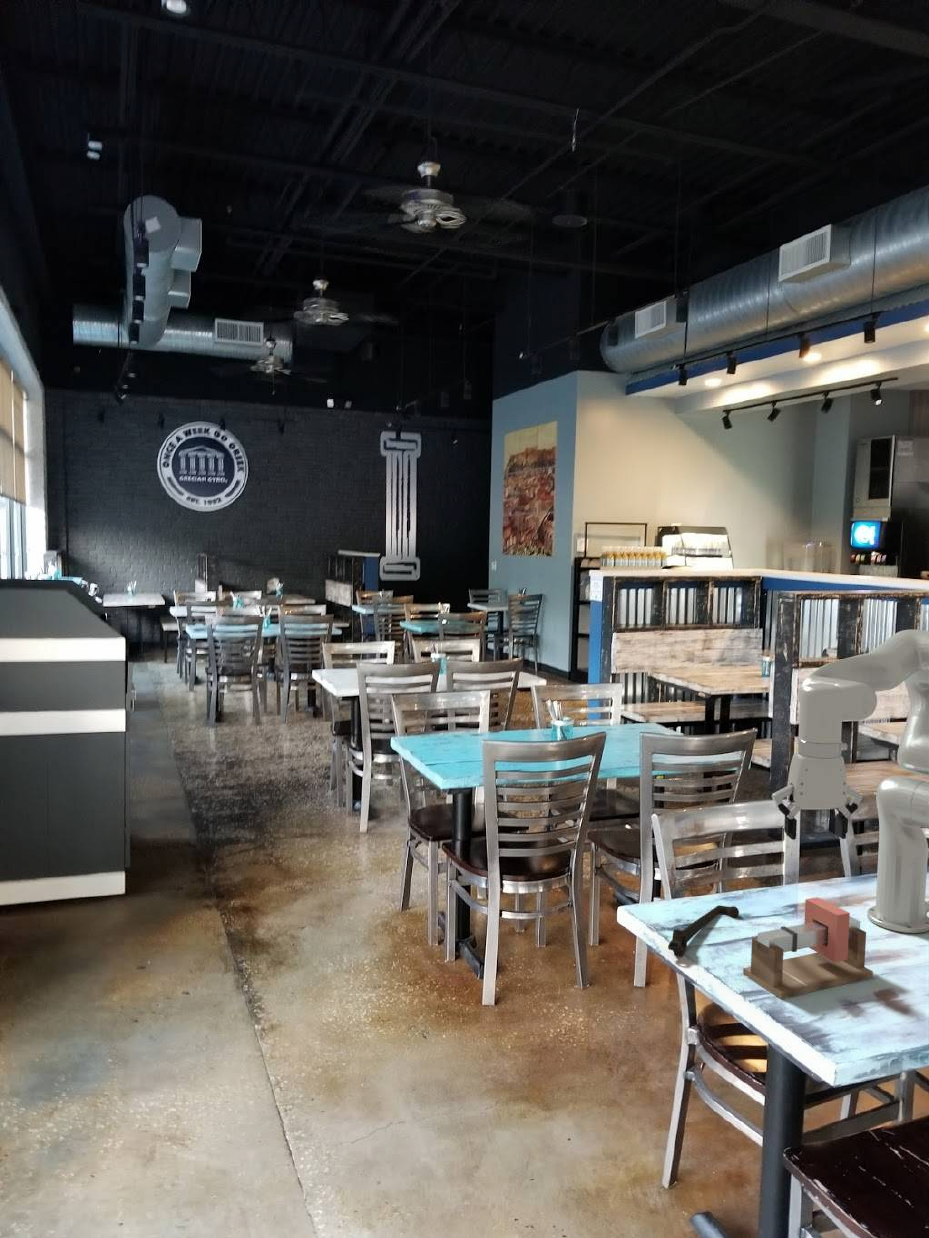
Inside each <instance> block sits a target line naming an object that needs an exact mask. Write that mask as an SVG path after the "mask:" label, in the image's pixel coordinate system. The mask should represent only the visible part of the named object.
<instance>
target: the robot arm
mask: <svg viewBox="0 0 929 1238" xmlns="http://www.w3.org/2000/svg"><path fill="white" fill-rule="evenodd" d="M903 682H904V684H905V686H906V691H907V694H908V698H909V711H908V714H907V718H906V721H905V725H904V728H903V732H902V735H901V738H900V742H899V746H898V749H897V754H896V760H897V764H898V766H899V767H900V768H901V769H902V770H905V771H906V772H909V773H912V774H916V775H921V776H923V777H929V630H921V629H905V630H900V631H898V632H896V633H895V634H893V635H892V636H891V637H889V638H888V639H886V640H885V641H883V642H882V643H881V644H879V645H878V646H876V647H875V648H874V649H872V650H871V651H869V652H867V653H862V654H858V655H854V656H850V657H846V658H841V659H838V660H834V661H830V662H829V663H826V664H824V665H822V666H820V667H819V668H817V669H815V671H813V672H812V673H810V674H809V675H808V676H807V677H806V678H804V680H803V682H802V683H801V685H800V686H799V690H798V702H799V715H798V716H799V717H798V739H797V741H798V743H797V744H798V745H797V753H793V755H792V759H791V762H790V767H789V771H788V778H787V786H785V787H783V788H781V789H779V790H777V791H775V792H773V793H772V794H771V798H772V800H773V802H774V804H775V807H776V808H777V810H779V811H780V812H781V813H782V815H783V816H784V826H783V827H784V829H783V830H784V831H783V832H784V833H785V835H786V836H787V837H788V839H791V840H794V841H795V840H796V839H797V829H798V828H797V826H798V824H797V823H798V821H797V819H796V818H795V817H796V816H797V814H799V813H800V811H801V810H836V811H837V813H836V814H835V821H834V822H835V823H834V833H835V835H836V836H838V837H839V838H840V839H842V840H845V839H847V834H848V833H849V832H848V831H849V819H850V818H851V817H852V814H853V813H855V812H856V811H857V809H858V808H859V805H860V804H861V802H862V799H863V797H864V795H863V794H862V793H860V792H858V791H857V790H855V789H854V788H851V787H849V786H848V784H847V783H848V782H847V781H848V780H847V771H846V766H845V760H844V757H843V756H842V753H843V752H842V751H847V750H848V743H846V742H843V741H842V726H843V725H842V724H843V721H848V722H849V721H850V722H851V721H852V722H859V721H863V720H866V719H868V718H869V717H871V716H872V715H873V714H874V712H875V711H876V709H877V706H878V697H877V692H884V691H885V692H886V691H890V690H893V689H895V688H897V687H899V686H900V684H902V683H903ZM875 794H876V795H875V797H876V798H875V799H876V808H877V815H878V822H879V823H878V824H879V825H878V827H879V831H878V832H879V834H878V855H877V857H878V858H877V874H876V892H875V905H874V906H871V907H869V908H868V909H867V915H866V917H867V918H868V919H869V921H870V922H872V923H873V924H874V925H877V926H879V927H881V928H884V929H887V930H890V931H894V932H898V933H906V934H921V933H925V932H928V931H929V916H928V913H929V900H928V901H926V893H927V891H926V890H927V876H928V874H927V873H928V872H927V871H928V859H929V857H928V855H929V842H928V840H927V837H926V834H925V832H924V831H923V829H922V828H924V829H927V830H929V781H927V780H922V779H917V778H912V777H908V776H901V775H898V776H897V775H893V776H888V777H886V778H884V779H882V781H881V782H880V783H879V784H878V786H877V789H876V793H875ZM847 795H849V796H850V797H851V798H850V801H849V802H847V799H848V796H847ZM784 798H786V800H787V802H788V803H787V805H785V803H784V801H783V799H784Z"/></svg>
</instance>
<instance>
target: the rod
mask: <svg viewBox="0 0 929 1238" xmlns="http://www.w3.org/2000/svg"><path fill="white" fill-rule="evenodd" d="M858 929H861V921H860V920H858V919H856V918H854V917H852V916H850V918H849V938H848V939H851V938H852V931H853V930H858ZM757 937H758V941H759V942H760V943H761V945H762V944H764V946H763V947H765V948H764V949H766V948H767V949H768V947H769V948H770V947H775V946H779V947H780V948H782V949H783V954H784V953H787V952H792V953H796V952H797V951H798V950H803V949H806V948H808V949H809V947H813V946H817V945H822V944H827V943H828V926H826V925H824V924H822V923H820V922H818V921H817V922H812V923H807V924H804V923H802V924H797V925H792V926H787V927H786V926H781V927H780V928H777V929H771V930H766V931H762V932H757ZM757 945H760V944H757ZM766 946H767V947H766ZM763 947H762V948H763ZM757 948H760V946H759V947H758V946H757ZM762 948H760V951H763V952H764V950H762ZM767 949H766V950H767ZM758 950H759V949H758Z"/></svg>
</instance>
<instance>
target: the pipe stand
mask: <svg viewBox="0 0 929 1238" xmlns="http://www.w3.org/2000/svg"><path fill="white" fill-rule="evenodd" d="M866 943H867V931H865V930H863V929H861V928H860V929H858V930H853V931H852V938H851V939H848V957H847V960H844V961H839V962H834V961H832V960H830V959H828V958H826V957H825V956H823V955H821V954H819V953H818V952H813V953H807V954H804V955H800V956H794V957H789V958H785V959H784V953H783V949H782V948H780V947H779V946H775V947H770V948H769V947H768V949H767V948H766V949H767V950H766V949H764V948H765V947H763V946H764V944H762V945H761V943H760V942H759V941H758V936H753V937H752V938H751V954H750V955H751V957H750V966H748V967H743V969H742V970H743V971H742V975H743V974H744V975H743V976H745V975H746V976H748V977H749V978H750V979H749V978H748V977H747V978H748V979H749V980H751V979H752V980H753V982H754V983H756V984H757V985H759V986H760V985H761V986H760V987H761V988H763V989H765V990H766V989H767V990H766V991H768V992H769V991H770V992H769V993H771V995H774V996H775V995H776V997H777V996H778V997H779V998H778V997H777V998H778V999H780V1000H783V999H787V998H786V997H788V998H791V996H792V997H795V996H794V995H796V996H799V995H804V994H808V993H813V992H817V991H816V990H818V991H821V990H826V989H830V988H834V987H838V986H842V985H847V984H851V983H855V982H859V981H864V980H868V979H869V980H870V979H873V976H874V971H873V970H871V969H870V968H867V967H865V963H866V947H867V944H866ZM757 944H760V945H757ZM757 946H758V947H759V946H760V948H762V947H763V948H762V950H764V952H763V951H760V948H757ZM766 947H767V946H766ZM758 949H759V950H758ZM746 976H745V977H746ZM752 980H751V981H752ZM782 998H783V999H782Z"/></svg>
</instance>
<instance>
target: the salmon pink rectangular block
mask: <svg viewBox="0 0 929 1238" xmlns="http://www.w3.org/2000/svg"><path fill="white" fill-rule="evenodd" d="M850 917H851V914H850V912H849V911H848V910H845V909H843V908H841V907H839V906H837V905H836V904H835V905H834V904H832V903H830V902H828V901H827V900H824V899H823V898H820V897H818V896H817V897H812V898H811V897H810V898H807V899H806V898H805V905H804V920H803V921H804V923H803V924H807V923H812V922H817V921H818V922H820V923H822V924H824V925H826V926H828V943H827V944H822V945H817V946H813V947H808V949H810V950H812V951H814V952H815V953H817V952H818V953H819V954H821V955H823V956H825V957H826V958H828V959H830V960H832V961H834V962H839V961H844V960H847V957H848V938H849V918H850Z"/></svg>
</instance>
